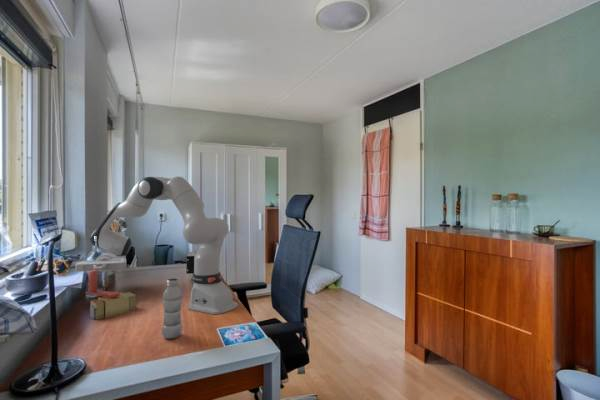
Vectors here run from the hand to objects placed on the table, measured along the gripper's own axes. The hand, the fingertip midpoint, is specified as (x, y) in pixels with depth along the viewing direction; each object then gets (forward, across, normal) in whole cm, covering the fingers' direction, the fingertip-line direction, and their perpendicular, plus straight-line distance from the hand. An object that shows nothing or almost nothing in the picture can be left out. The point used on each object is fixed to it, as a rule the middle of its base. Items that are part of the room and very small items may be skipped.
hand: (97, 269), depth 138 cm
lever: (+9, +5, +9) cm, 14 cm away
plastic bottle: (+43, +34, +16) cm, 57 cm away
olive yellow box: (+11, +9, +16) cm, 22 cm away
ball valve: (-29, +41, +16) cm, 53 cm away
